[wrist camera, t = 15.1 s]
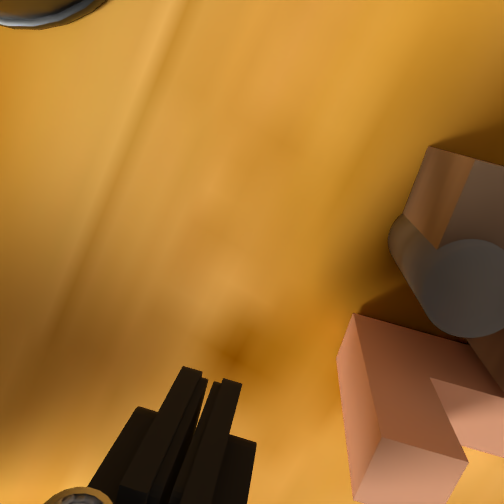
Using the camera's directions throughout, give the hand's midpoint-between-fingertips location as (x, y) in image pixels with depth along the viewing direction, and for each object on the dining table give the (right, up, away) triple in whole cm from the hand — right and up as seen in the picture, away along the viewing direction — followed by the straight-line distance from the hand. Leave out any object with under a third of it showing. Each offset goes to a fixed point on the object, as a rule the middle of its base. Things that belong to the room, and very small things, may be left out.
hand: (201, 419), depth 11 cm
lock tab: (+8, 0, +4) cm, 9 cm away
